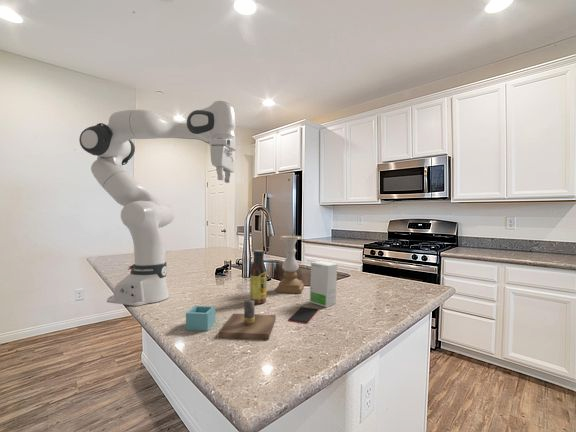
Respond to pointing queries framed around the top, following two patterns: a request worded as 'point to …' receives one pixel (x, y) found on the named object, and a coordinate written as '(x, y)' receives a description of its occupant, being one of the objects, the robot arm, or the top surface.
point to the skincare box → (323, 283)
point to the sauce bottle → (258, 278)
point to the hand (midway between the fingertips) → (223, 181)
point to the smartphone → (303, 315)
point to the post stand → (248, 324)
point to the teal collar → (200, 318)
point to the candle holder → (290, 268)
